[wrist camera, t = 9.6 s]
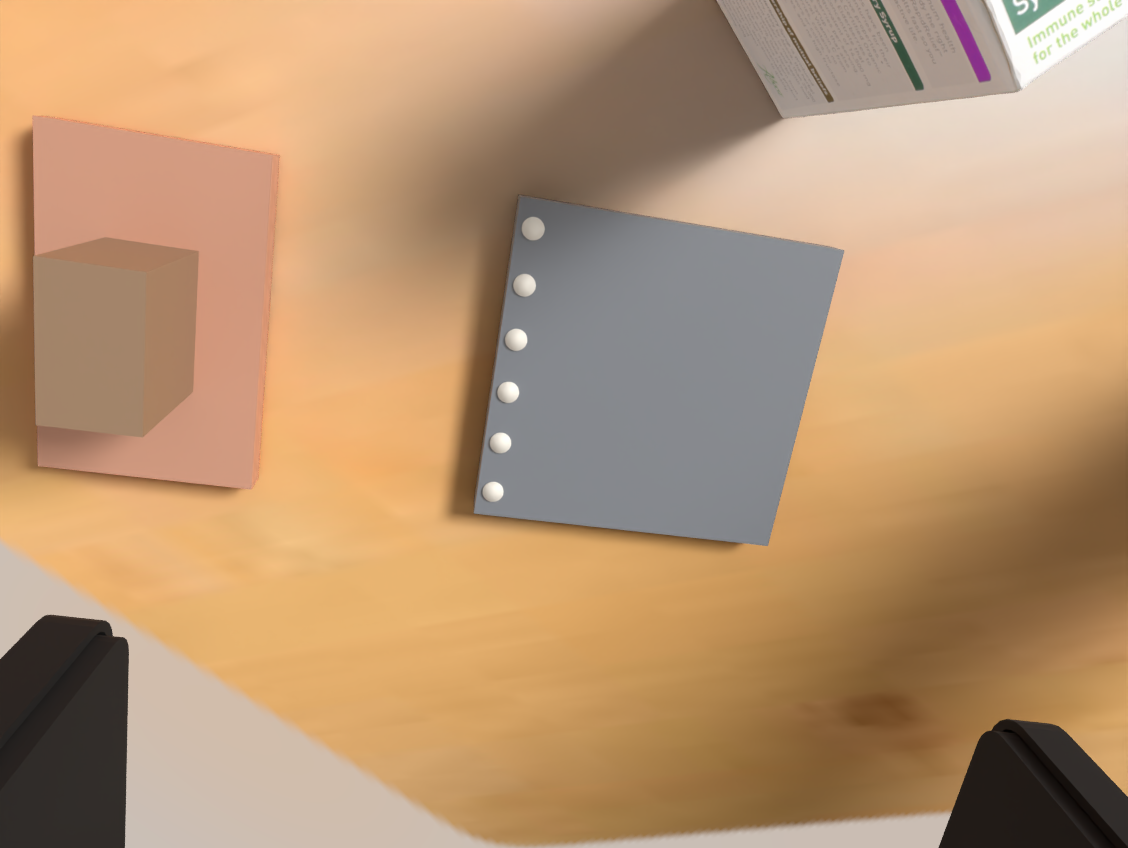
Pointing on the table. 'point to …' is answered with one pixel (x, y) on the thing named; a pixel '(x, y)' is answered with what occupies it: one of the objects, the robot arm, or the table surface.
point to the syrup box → (908, 47)
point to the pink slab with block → (150, 302)
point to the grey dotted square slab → (649, 372)
